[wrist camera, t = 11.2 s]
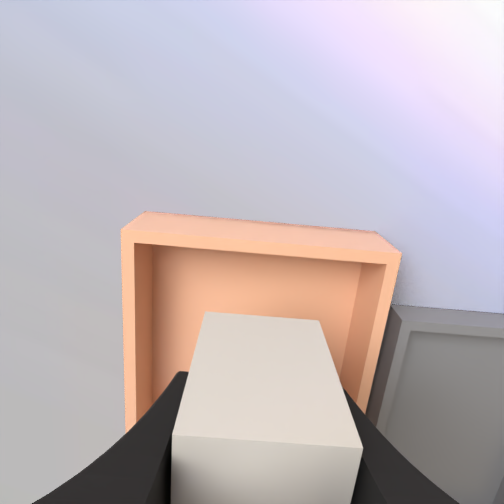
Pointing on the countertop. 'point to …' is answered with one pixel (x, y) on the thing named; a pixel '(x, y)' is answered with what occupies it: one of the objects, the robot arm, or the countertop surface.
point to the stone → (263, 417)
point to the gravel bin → (248, 292)
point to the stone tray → (444, 397)
